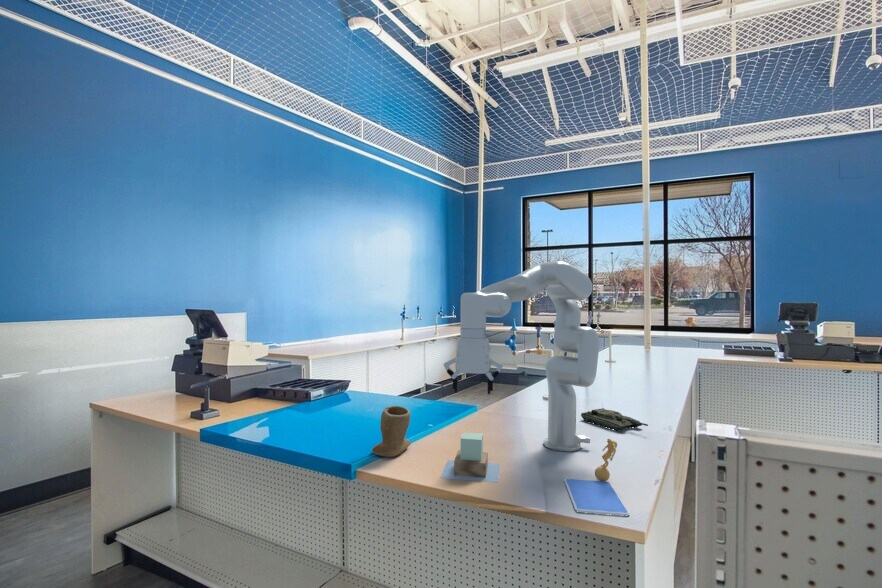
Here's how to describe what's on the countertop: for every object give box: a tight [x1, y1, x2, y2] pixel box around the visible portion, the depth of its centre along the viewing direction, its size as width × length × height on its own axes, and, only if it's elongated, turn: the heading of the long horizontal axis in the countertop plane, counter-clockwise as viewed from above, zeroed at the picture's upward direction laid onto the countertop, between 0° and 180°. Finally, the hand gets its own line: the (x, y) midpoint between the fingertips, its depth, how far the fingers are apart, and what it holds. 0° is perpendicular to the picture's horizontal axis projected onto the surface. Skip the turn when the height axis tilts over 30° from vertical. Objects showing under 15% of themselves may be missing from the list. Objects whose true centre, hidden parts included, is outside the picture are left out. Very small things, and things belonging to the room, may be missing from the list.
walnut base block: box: [453, 449, 489, 478], centre depth 126 cm, size 9×9×4 cm
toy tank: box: [580, 404, 649, 432], centre depth 178 cm, size 14×28×10 cm, turn 27°
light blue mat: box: [440, 459, 500, 484], centre depth 126 cm, size 16×14×1 cm
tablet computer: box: [564, 478, 630, 516], centre depth 112 cm, size 19×13×1 cm, turn 172°
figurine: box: [594, 438, 618, 482], centre depth 122 cm, size 8×6×12 cm
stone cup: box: [371, 405, 412, 458], centre depth 144 cm, size 15×12×15 cm
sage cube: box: [459, 432, 484, 461], centre depth 126 cm, size 6×6×6 cm
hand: (472, 392), depth 127 cm, fingers open, 9 cm apart
